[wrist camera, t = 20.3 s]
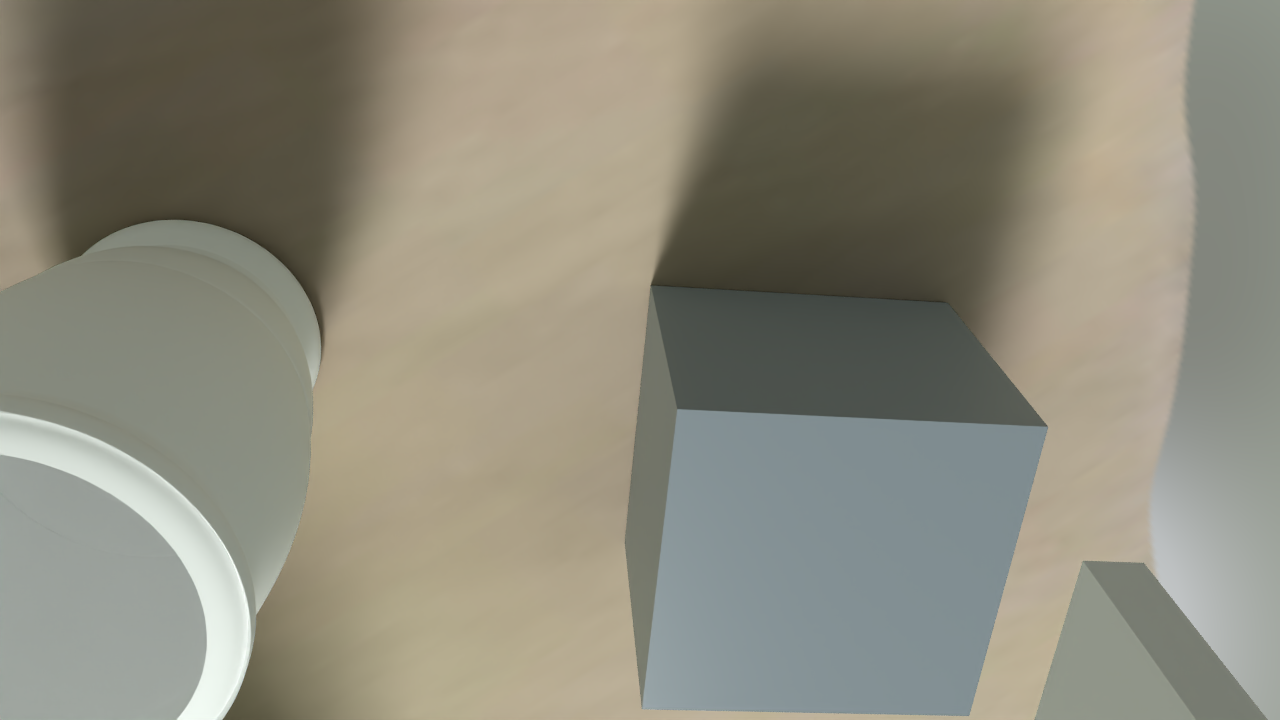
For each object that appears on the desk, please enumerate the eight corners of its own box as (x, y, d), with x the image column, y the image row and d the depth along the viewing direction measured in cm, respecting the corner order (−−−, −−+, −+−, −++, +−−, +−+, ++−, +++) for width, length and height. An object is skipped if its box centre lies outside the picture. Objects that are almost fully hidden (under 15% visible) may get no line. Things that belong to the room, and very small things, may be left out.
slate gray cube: (650, 285, 38) (677, 409, 30) (947, 302, 39) (1048, 426, 31) (624, 542, 43) (641, 709, 35) (892, 551, 44) (969, 715, 36)
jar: (205, 118, 35) (-12, 312, 21) (419, 367, 39) (350, 663, 26) (-48, 304, 37) (-392, 590, 23) (181, 524, 41) (0, 875, 27)
